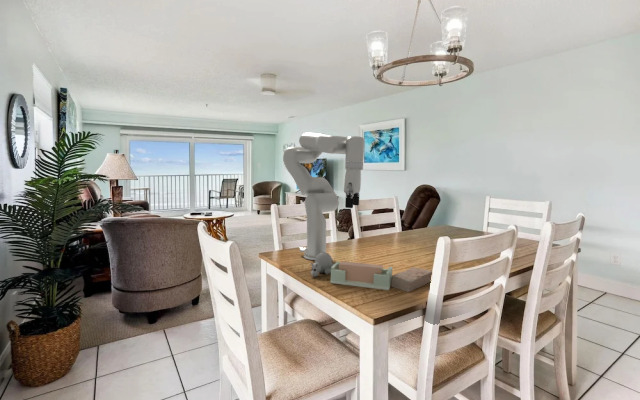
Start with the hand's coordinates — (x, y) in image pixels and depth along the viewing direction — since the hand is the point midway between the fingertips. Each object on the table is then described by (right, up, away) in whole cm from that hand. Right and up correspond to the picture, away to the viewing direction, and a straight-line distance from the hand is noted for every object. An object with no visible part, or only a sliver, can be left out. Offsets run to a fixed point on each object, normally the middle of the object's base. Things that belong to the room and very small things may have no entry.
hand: (352, 206), depth 141 cm
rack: (+2, -29, -15) cm, 33 cm away
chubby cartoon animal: (-13, -28, -4) cm, 31 cm away
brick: (+21, -30, -16) cm, 40 cm away
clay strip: (+2, -28, -15) cm, 32 cm away
